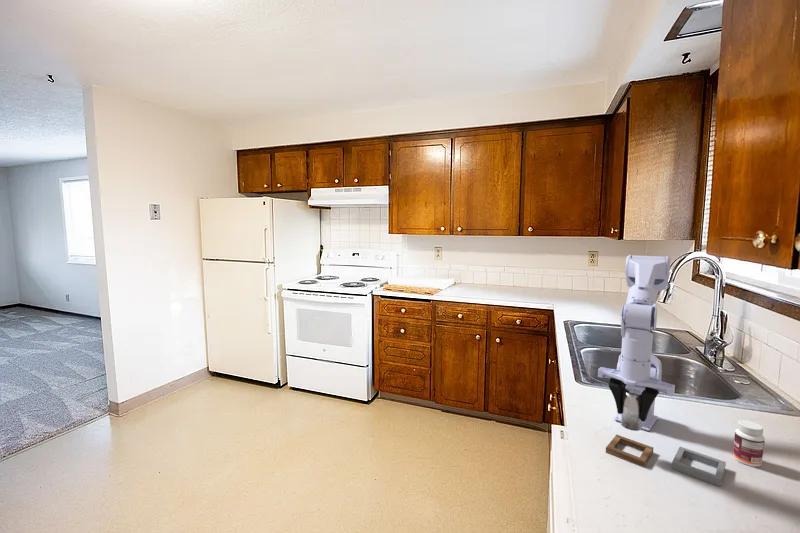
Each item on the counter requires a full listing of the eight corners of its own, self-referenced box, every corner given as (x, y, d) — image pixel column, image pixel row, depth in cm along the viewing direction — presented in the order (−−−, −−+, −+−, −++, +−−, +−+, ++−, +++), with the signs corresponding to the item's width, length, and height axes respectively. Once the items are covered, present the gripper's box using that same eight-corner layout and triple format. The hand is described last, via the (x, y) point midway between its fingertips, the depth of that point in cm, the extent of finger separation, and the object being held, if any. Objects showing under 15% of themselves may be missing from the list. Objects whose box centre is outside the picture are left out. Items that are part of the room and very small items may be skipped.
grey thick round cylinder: (624, 419, 89) (626, 386, 88) (643, 426, 86) (646, 392, 85) (618, 426, 86) (620, 392, 85) (638, 432, 83) (641, 398, 82)
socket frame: (616, 439, 92) (616, 434, 92) (653, 452, 87) (653, 447, 86) (605, 452, 87) (605, 447, 87) (644, 467, 81) (644, 462, 81)
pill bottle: (732, 451, 87) (735, 416, 86) (760, 459, 84) (764, 423, 83) (732, 461, 83) (736, 425, 82) (762, 470, 80) (766, 432, 79)
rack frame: (679, 452, 87) (679, 446, 86) (725, 468, 81) (725, 461, 81) (671, 468, 81) (672, 461, 81) (720, 486, 75) (721, 479, 75)
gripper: (594, 353, 87) (591, 410, 88) (671, 371, 76) (666, 435, 78) (605, 346, 91) (601, 400, 93) (678, 362, 81) (673, 422, 83)
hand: (631, 415), depth 86 cm, fingers closed on grey thick round cylinder, 4 cm apart
